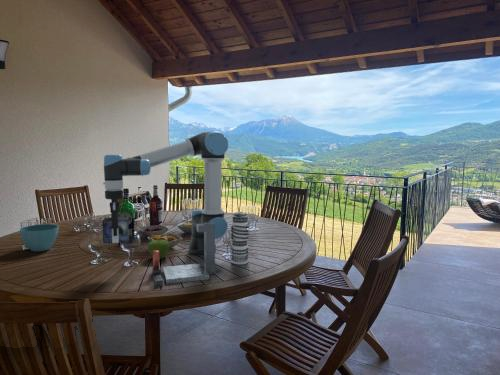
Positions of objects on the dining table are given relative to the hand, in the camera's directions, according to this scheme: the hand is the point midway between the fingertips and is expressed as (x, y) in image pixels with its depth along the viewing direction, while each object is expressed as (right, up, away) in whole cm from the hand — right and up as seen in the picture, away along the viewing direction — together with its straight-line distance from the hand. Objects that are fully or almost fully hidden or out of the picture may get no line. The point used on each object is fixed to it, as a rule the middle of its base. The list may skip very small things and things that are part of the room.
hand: (115, 240), depth 155 cm
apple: (+14, -13, +22) cm, 29 cm away
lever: (+18, -14, -1) cm, 23 cm away
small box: (0, -1, 0) cm, 1 cm away
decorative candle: (+55, -14, +19) cm, 60 cm away
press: (+31, -15, -2) cm, 35 cm away
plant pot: (-54, -10, +34) cm, 65 cm away
